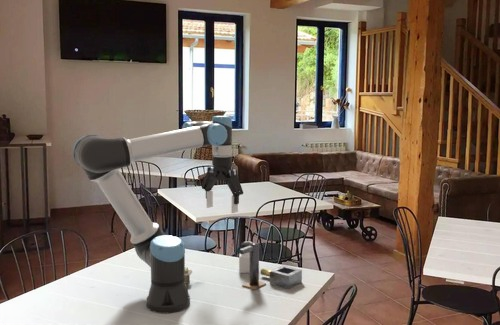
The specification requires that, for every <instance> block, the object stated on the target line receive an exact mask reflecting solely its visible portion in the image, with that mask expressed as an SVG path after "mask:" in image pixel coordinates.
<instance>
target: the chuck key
mask: <svg viewBox="0 0 500 325" xmlns="http://www.w3.org/2000/svg"><path fill="white" fill-rule="evenodd" d="M238 252H239V255H240V254H245V253H248V252H250V266H249V273H248V274H249V279H248V280H249V281H248V282H249V284H250V285H252V286H257V285H259V280H260V279H259V278H260V276H259V275H260V272H259V271H260V243H259V242H253V243H250V246H247V247H245V248H242V249H241V248H240V249H239V251H238Z"/></svg>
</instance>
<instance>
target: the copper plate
mask: <svg viewBox="0 0 500 325" xmlns="http://www.w3.org/2000/svg"><path fill="white" fill-rule="evenodd" d="M266 285H267V283H266V282H263V281H259V285H257V286H252V285H250V284H249V281H247V282H245V283H243V284H242V286H241V287H242V288H246V289H250V290H253V291H256V290H258V289H260V288H262V287H264V286H266Z"/></svg>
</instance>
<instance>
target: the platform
mask: <svg viewBox="0 0 500 325" xmlns="http://www.w3.org/2000/svg"><path fill="white" fill-rule="evenodd" d="M192 273H193V270H192V269H189V268H188V267H185V284H186V285H188V283H191V282H190V281H191V280H190V278H191V276H190V275H192Z"/></svg>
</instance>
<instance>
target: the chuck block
mask: <svg viewBox="0 0 500 325" xmlns="http://www.w3.org/2000/svg"><path fill="white" fill-rule="evenodd" d="M260 275H261V276H266V277H269V284H270V285H274V286H278V287H281V288H284V289H288V290H290V289H291V288H293V287H296V286H297V285H300V284H301V283H302V281H303V270H302V269H300V268H295V267H292V266H288V265H285V264H283V265H282V264H281V266H278V267H276V268H274V269H272V270H269V269H266V268H262V269H261V270H260Z"/></svg>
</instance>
